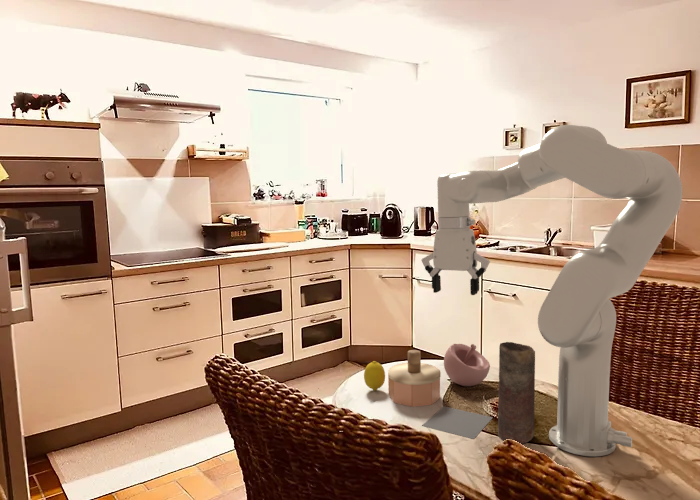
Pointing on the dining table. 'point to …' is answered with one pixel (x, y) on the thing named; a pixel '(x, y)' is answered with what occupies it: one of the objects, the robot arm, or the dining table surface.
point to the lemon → (374, 375)
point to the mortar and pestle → (465, 365)
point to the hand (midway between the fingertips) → (455, 292)
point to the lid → (414, 371)
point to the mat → (458, 422)
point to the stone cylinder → (516, 392)
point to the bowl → (414, 393)
